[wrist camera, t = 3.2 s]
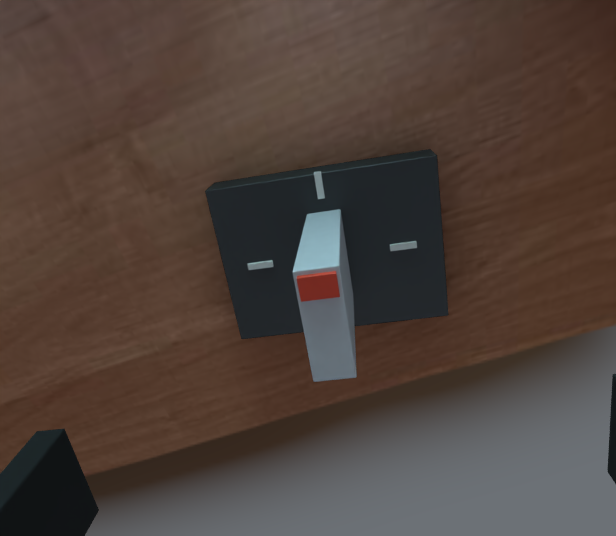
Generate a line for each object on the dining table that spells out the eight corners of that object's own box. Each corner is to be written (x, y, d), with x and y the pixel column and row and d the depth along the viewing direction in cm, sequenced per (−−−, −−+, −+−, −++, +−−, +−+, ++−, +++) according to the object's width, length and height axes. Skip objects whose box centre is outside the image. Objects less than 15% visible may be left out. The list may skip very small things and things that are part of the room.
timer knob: (353, 295, 28) (357, 381, 20) (321, 299, 28) (312, 385, 20) (340, 208, 26) (339, 267, 18) (306, 213, 26) (291, 273, 18)
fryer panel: (247, 324, 31) (241, 342, 29) (213, 180, 28) (203, 189, 26) (442, 301, 30) (449, 318, 28) (430, 147, 26) (437, 153, 24)
